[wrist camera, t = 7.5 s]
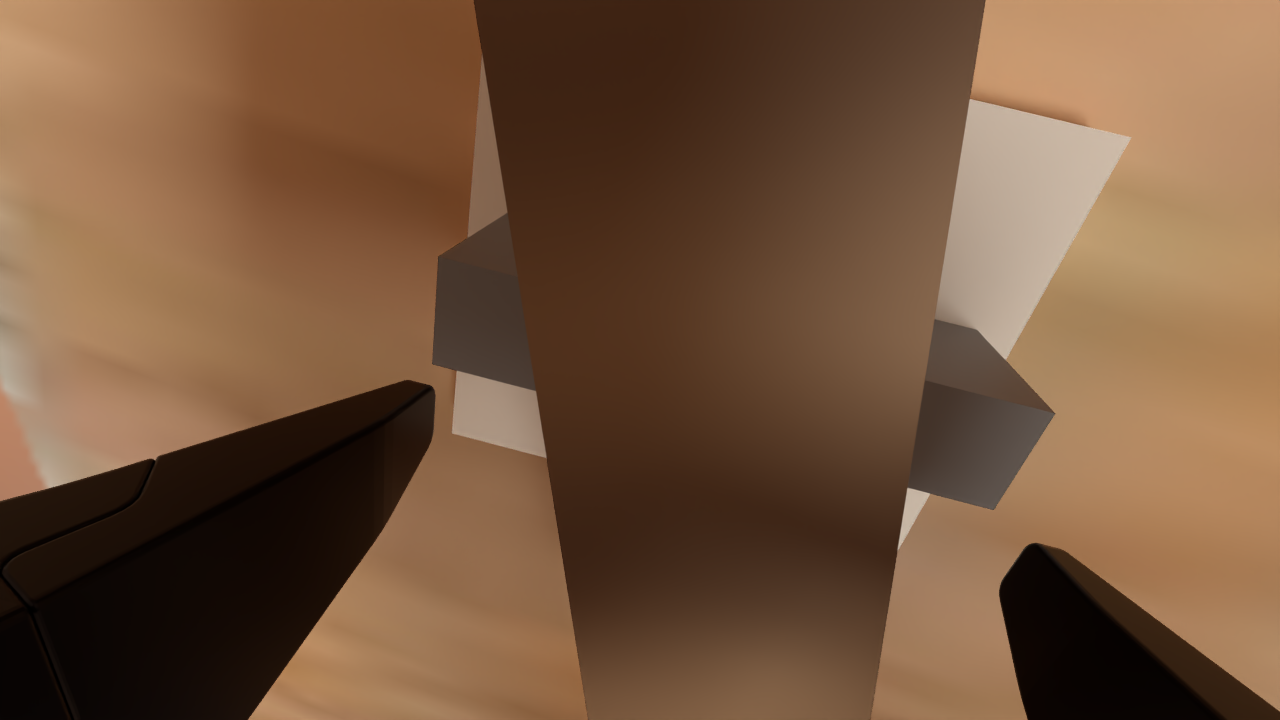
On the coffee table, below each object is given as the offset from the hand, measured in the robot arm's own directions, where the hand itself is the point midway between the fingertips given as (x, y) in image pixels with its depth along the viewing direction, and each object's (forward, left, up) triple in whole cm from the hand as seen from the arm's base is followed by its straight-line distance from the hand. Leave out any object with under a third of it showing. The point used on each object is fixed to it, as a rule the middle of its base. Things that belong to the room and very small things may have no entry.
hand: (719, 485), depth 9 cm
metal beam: (0, 0, -3) cm, 3 cm away
